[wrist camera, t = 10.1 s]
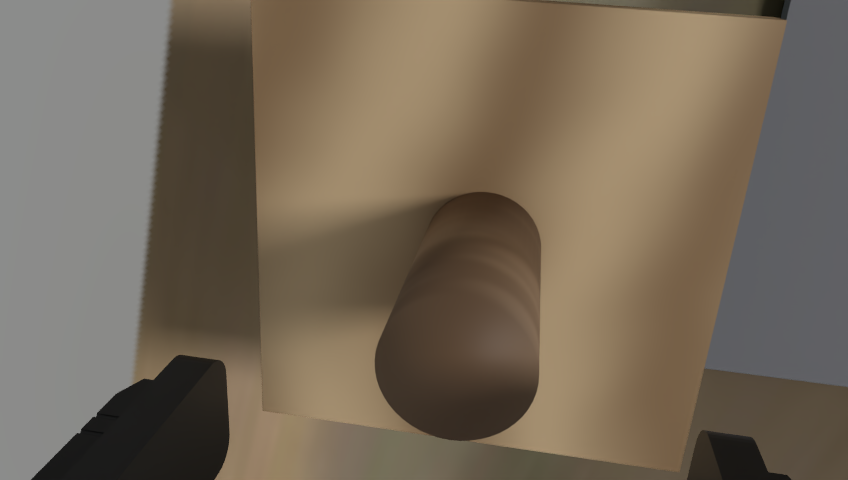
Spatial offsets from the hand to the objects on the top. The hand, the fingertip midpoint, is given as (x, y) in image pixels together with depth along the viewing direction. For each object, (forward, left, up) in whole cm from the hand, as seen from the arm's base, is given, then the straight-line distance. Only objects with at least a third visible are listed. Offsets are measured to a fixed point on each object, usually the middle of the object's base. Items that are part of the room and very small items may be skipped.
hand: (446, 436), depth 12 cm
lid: (0, 0, -9) cm, 9 cm away
